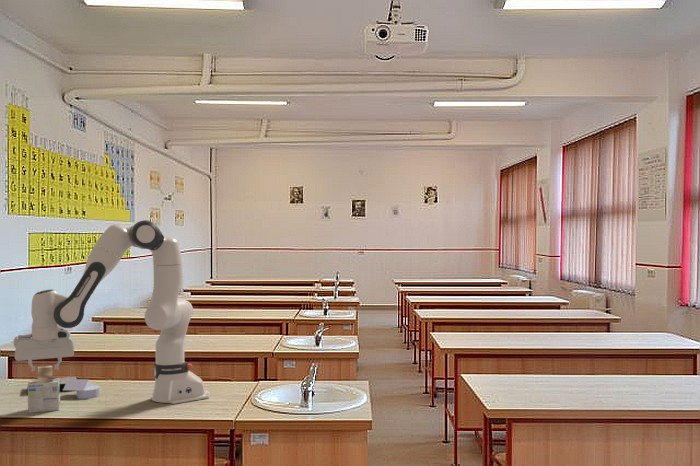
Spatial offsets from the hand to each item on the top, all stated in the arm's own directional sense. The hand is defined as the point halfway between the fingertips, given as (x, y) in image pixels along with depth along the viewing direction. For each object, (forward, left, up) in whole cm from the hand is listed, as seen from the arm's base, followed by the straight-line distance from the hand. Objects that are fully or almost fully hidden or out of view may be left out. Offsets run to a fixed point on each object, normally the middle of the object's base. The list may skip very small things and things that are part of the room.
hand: (45, 370), depth 248 cm
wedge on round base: (-14, -16, -15) cm, 26 cm away
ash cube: (0, 0, -4) cm, 4 cm away
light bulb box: (0, 0, -15) cm, 15 cm away
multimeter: (-3, -34, -15) cm, 37 cm away
